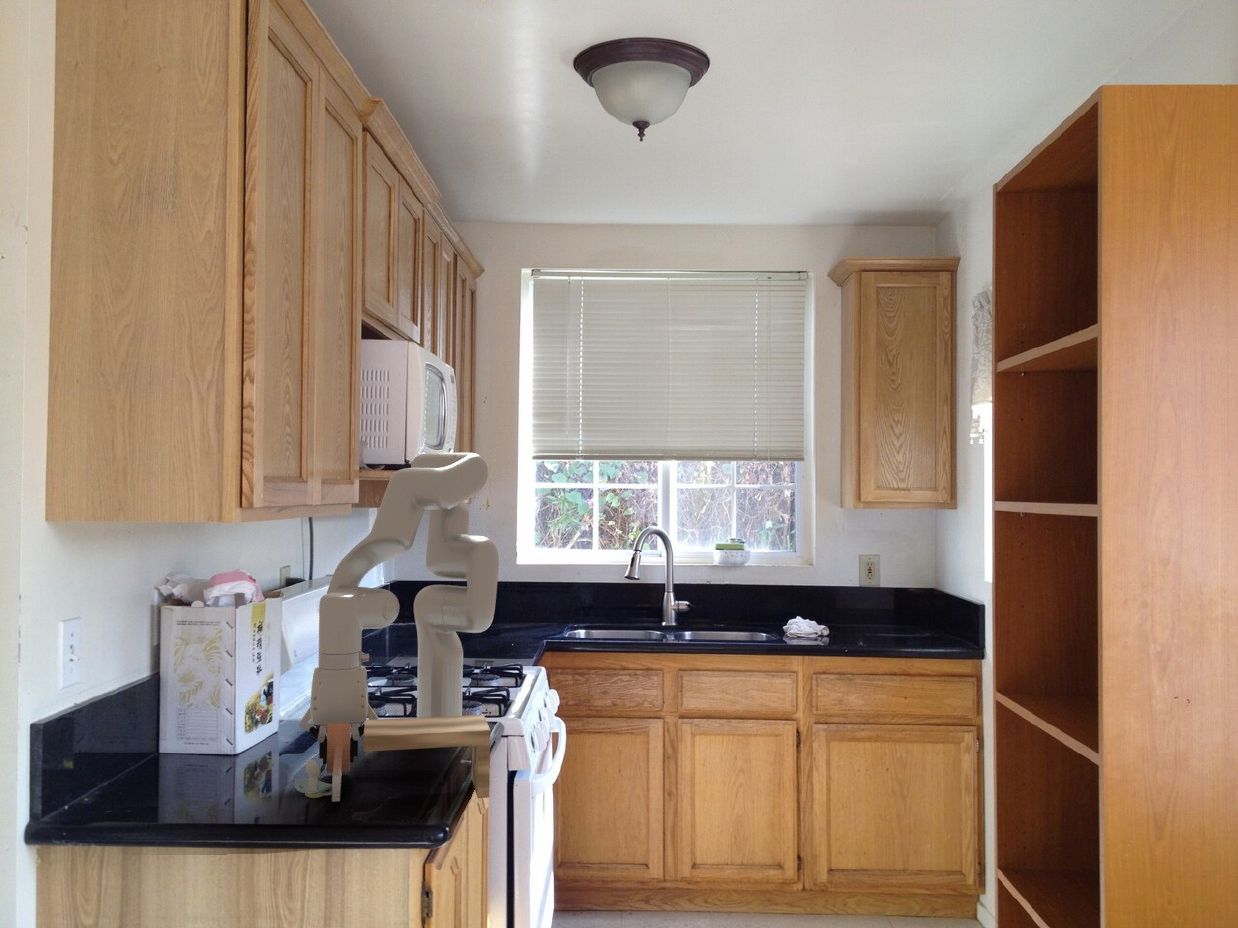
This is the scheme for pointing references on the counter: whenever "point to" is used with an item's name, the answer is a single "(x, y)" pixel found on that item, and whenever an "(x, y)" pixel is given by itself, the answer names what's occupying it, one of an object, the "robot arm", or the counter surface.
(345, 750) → the orange-brown mallet
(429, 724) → the oak shelf
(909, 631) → the counter surface
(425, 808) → the counter surface
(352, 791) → the counter surface
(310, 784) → the pacifier
